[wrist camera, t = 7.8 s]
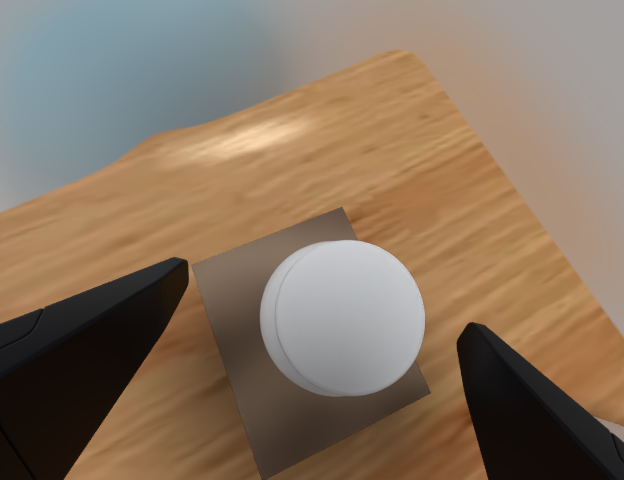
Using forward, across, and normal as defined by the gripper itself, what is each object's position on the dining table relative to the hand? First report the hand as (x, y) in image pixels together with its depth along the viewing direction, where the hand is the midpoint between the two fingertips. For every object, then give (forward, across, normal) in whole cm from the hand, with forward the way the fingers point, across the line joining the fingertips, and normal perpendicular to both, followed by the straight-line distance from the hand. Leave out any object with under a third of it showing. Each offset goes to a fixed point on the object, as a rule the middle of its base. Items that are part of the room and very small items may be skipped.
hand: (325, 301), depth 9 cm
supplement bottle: (+6, 0, +6) cm, 8 cm away
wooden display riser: (+8, 0, +10) cm, 13 cm away
